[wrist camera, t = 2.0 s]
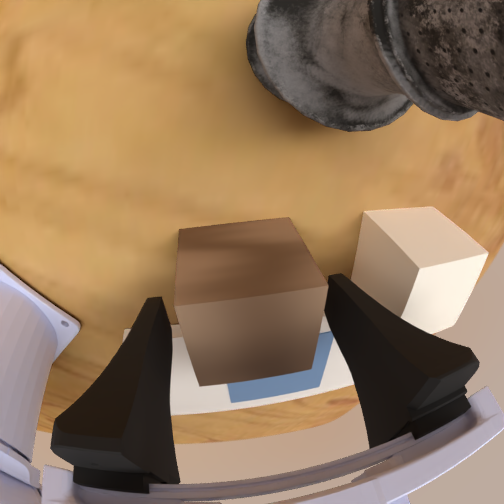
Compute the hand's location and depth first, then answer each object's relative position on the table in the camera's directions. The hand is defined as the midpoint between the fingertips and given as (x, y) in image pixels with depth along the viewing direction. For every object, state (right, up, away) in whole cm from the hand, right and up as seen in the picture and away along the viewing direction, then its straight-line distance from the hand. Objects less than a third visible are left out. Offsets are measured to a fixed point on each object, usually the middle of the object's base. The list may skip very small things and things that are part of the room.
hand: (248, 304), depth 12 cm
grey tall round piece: (+2, +10, -3) cm, 11 cm away
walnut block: (-1, +2, +2) cm, 3 cm away
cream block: (+8, +3, +3) cm, 9 cm away
